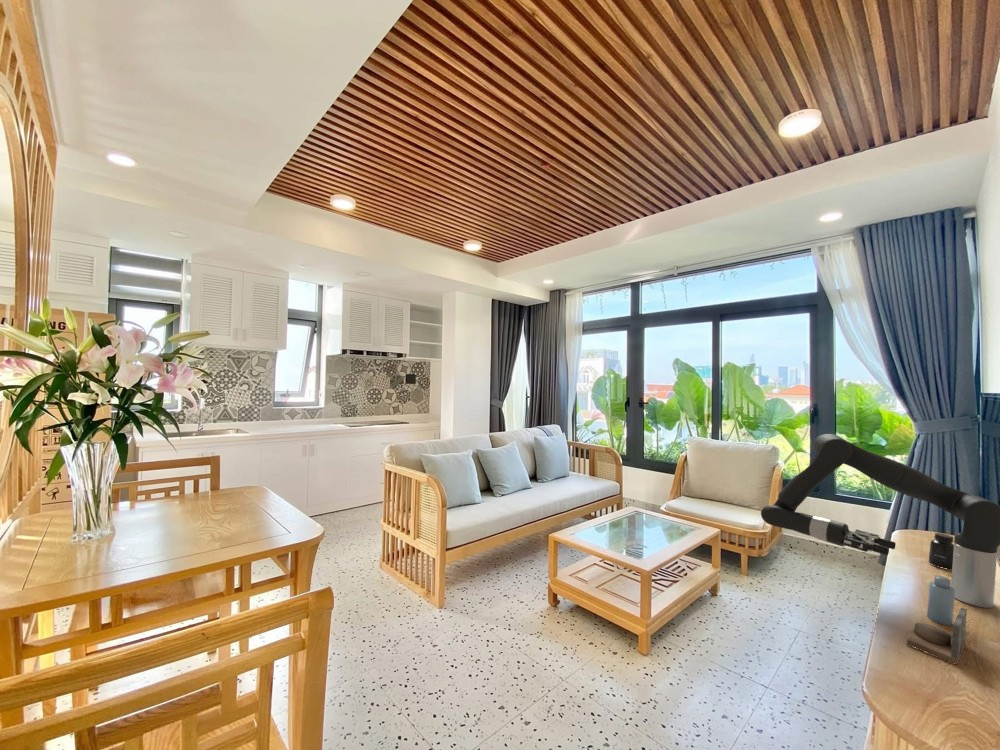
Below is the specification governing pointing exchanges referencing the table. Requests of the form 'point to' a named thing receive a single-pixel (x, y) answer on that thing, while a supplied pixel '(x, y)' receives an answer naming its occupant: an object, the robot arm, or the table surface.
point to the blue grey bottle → (941, 601)
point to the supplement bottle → (941, 551)
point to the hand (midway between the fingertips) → (891, 548)
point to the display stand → (940, 639)
